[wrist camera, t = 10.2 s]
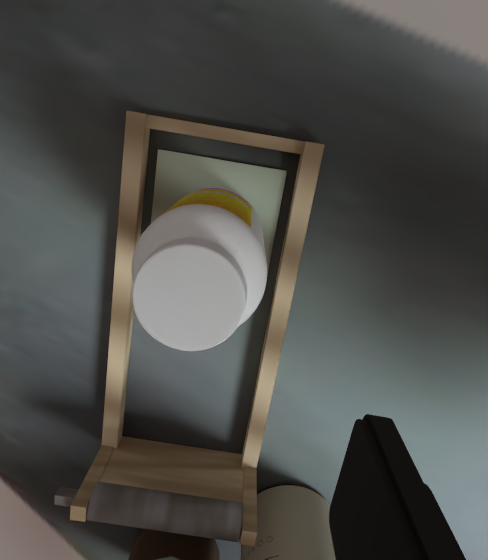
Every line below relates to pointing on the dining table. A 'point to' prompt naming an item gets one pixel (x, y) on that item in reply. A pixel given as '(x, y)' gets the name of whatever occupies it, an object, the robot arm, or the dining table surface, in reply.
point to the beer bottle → (173, 547)
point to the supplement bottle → (199, 270)
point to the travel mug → (291, 526)
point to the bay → (116, 448)
